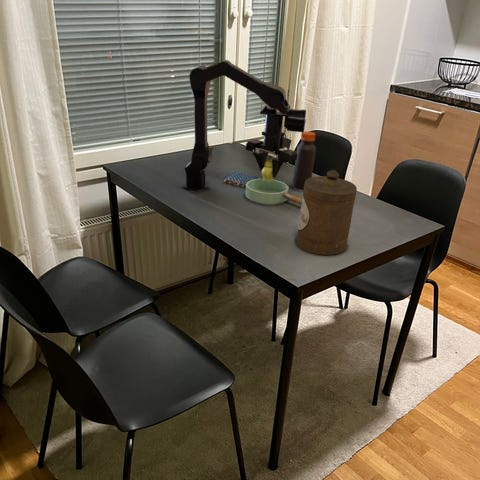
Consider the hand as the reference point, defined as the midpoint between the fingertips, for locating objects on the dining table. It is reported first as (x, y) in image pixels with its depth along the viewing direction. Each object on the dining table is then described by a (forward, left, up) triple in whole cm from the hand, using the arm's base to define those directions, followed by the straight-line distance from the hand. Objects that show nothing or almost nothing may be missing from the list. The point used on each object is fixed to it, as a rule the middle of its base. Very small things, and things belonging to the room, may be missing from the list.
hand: (268, 175), depth 170 cm
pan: (0, 0, -8) cm, 8 cm away
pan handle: (0, -13, -6) cm, 15 cm away
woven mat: (+4, +16, -8) cm, 18 cm away
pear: (0, 0, -1) cm, 1 cm away
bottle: (+18, -2, -8) cm, 20 cm away
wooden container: (-16, -35, -8) cm, 39 cm away
